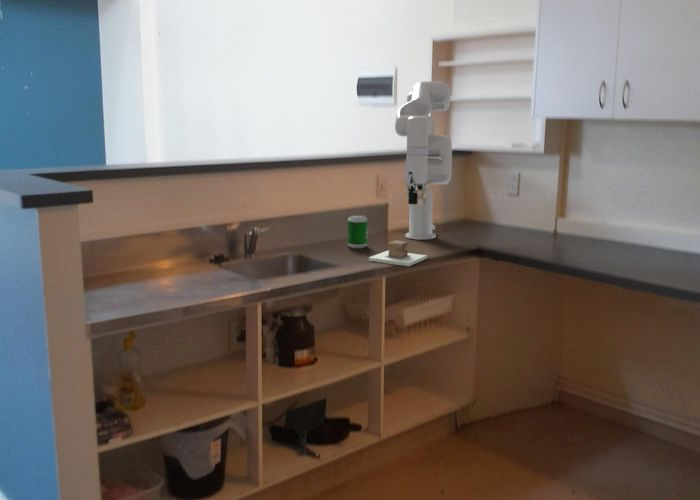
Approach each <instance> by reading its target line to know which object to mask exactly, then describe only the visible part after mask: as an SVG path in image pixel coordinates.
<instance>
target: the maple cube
mask: <svg viewBox="0 0 700 500" xmlns="http://www.w3.org/2000/svg"><path fill="white" fill-rule="evenodd" d="M416 193H417V204H409V203H408V199H409V193H408V189H407V191H406V200H407V201H406V205H408V206H410V205H423V204H426V190H421V189H417V191H416Z"/></svg>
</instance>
